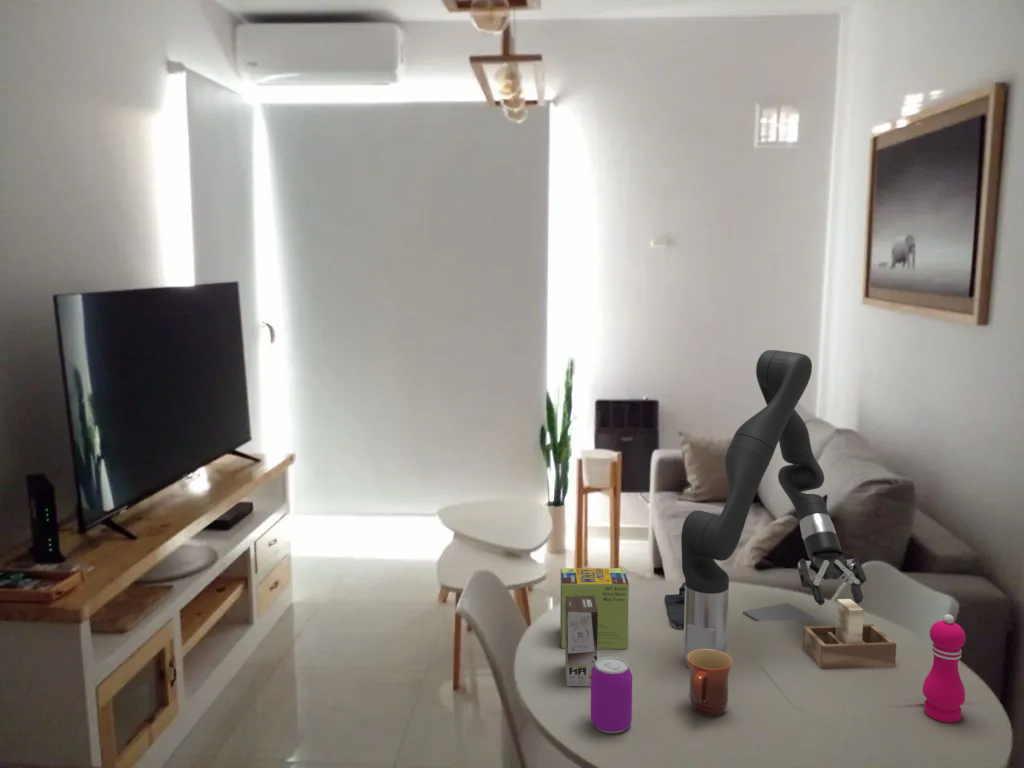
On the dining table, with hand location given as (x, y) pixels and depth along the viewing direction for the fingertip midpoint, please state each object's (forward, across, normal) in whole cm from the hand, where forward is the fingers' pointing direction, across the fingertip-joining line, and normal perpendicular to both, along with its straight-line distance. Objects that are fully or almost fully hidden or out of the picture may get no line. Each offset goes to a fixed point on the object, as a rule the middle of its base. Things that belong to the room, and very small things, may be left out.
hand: (840, 603), depth 180 cm
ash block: (+10, 0, +4) cm, 11 cm away
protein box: (0, -54, +16) cm, 56 cm away
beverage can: (+26, -56, -10) cm, 63 cm away
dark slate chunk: (-8, -26, +25) cm, 37 cm away
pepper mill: (+27, +8, -11) cm, 30 cm away
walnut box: (+11, 0, +5) cm, 12 cm away
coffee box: (+13, -59, +3) cm, 61 cm away
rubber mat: (-3, -5, +19) cm, 20 cm away
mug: (+24, -38, -8) cm, 45 cm away
